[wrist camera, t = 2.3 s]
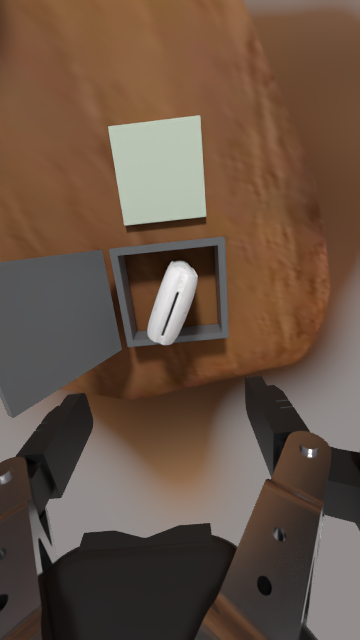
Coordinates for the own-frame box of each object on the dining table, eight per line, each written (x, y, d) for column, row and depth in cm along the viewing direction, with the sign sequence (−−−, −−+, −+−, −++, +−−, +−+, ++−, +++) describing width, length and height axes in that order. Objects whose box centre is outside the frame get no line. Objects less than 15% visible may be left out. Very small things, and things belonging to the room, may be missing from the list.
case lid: (122, 349, 37) (114, 348, 38) (101, 249, 32) (93, 250, 33) (13, 417, 24) (5, 413, 25) (-49, 268, 19) (-56, 268, 20)
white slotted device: (171, 255, 37) (167, 263, 25) (196, 264, 37) (204, 276, 26) (151, 314, 40) (139, 345, 28) (175, 322, 41) (173, 356, 29)
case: (132, 337, 41) (127, 347, 38) (116, 247, 36) (108, 249, 33) (224, 328, 41) (228, 337, 37) (220, 236, 36) (224, 236, 32)
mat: (125, 225, 35) (124, 225, 35) (109, 129, 32) (108, 126, 31) (205, 216, 35) (206, 216, 34) (199, 118, 31) (200, 115, 30)
